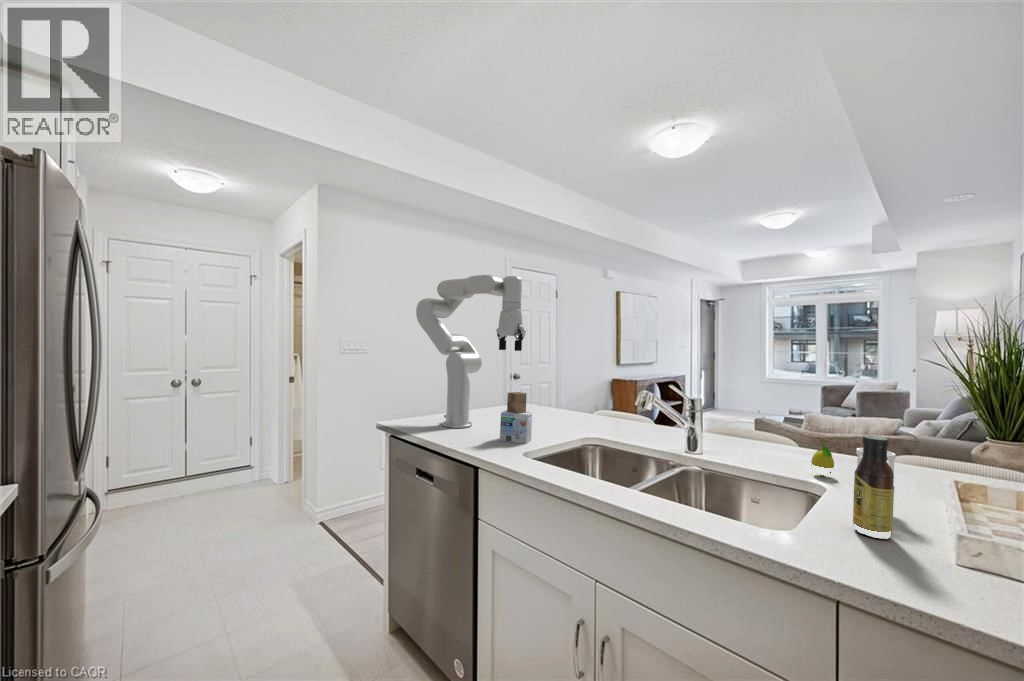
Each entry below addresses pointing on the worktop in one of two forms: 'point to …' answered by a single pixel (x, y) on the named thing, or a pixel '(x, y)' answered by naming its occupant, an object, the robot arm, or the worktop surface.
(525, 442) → the light bulb box
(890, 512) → the sauce bottle
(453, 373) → the robot arm
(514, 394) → the walnut block
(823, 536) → the worktop surface
